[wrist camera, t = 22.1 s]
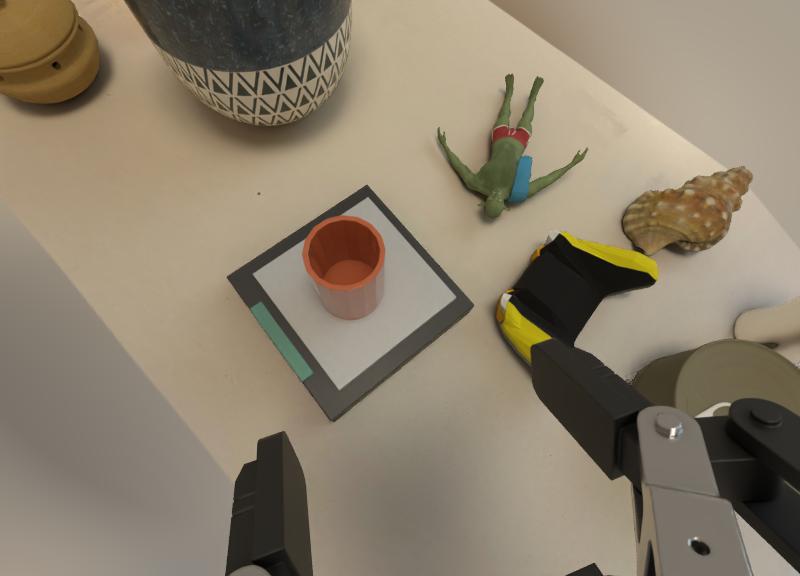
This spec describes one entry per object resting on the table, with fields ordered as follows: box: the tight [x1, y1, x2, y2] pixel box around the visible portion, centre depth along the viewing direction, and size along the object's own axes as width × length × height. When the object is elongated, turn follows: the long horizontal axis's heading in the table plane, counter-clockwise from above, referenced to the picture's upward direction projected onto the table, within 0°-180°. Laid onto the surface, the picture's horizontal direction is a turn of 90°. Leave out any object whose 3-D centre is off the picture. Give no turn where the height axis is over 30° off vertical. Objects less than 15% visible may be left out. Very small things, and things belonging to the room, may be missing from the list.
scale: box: [227, 185, 474, 422], centre depth 38 cm, size 16×16×3 cm
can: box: [631, 339, 800, 494], centre depth 34 cm, size 12×12×7 cm
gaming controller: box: [496, 230, 658, 367], centre depth 38 cm, size 15×6×10 cm
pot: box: [0, 0, 100, 104], centre depth 42 cm, size 12×12×10 cm
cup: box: [302, 215, 386, 320], centre depth 33 cm, size 6×6×8 cm
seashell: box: [623, 166, 753, 256], centre depth 42 cm, size 9×8×10 cm
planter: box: [124, 0, 352, 126], centre depth 37 cm, size 20×20×21 cm
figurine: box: [438, 74, 588, 218], centre depth 44 cm, size 16×4×18 cm
